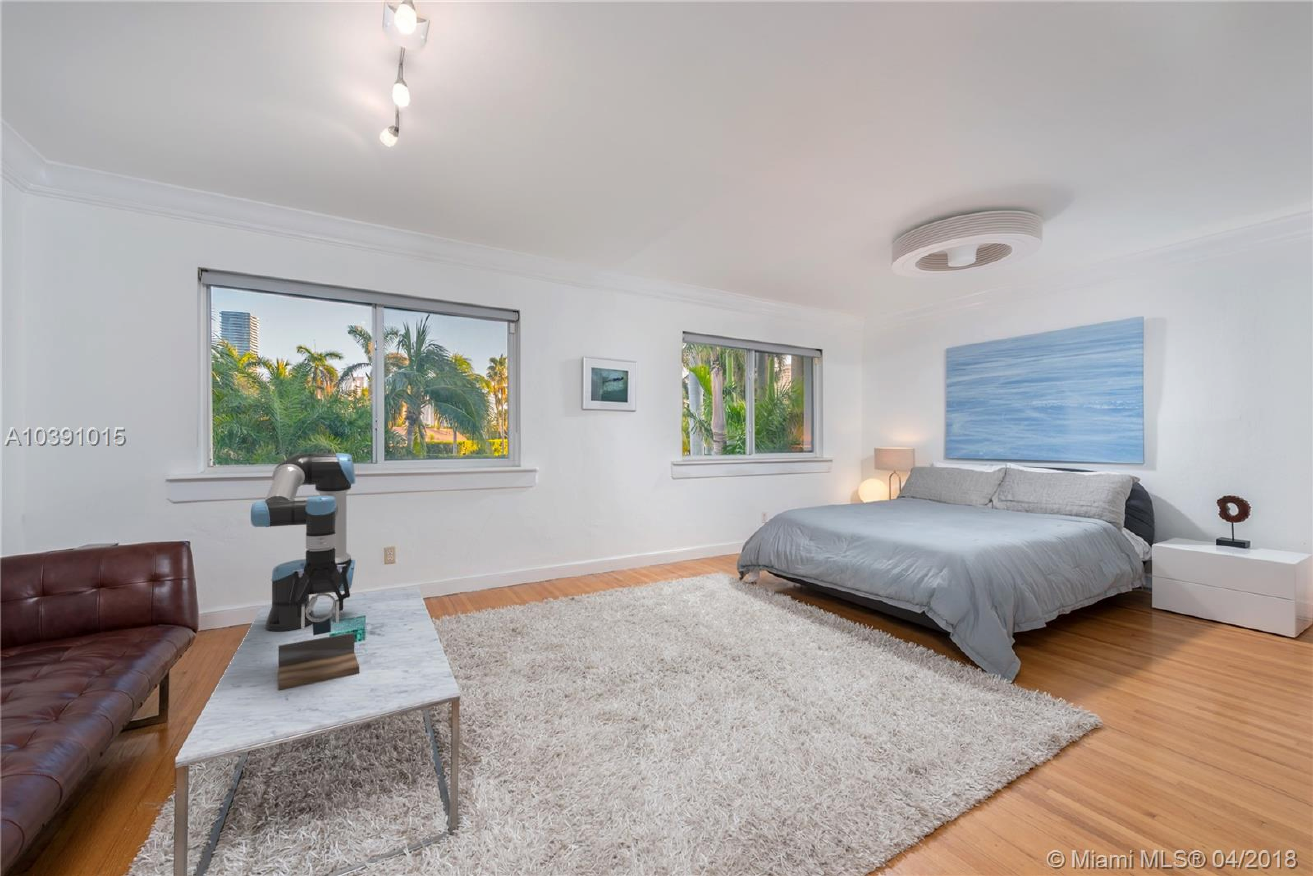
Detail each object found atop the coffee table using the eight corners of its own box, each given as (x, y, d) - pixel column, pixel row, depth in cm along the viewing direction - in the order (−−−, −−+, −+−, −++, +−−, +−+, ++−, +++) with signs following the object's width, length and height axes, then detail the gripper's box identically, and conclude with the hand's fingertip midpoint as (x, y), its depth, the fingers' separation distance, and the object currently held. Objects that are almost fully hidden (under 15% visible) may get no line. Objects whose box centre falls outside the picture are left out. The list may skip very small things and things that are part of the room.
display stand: (278, 672, 165) (278, 645, 165) (353, 657, 176) (353, 632, 176) (278, 690, 154) (278, 661, 153) (359, 673, 165) (359, 646, 165)
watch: (307, 631, 164) (304, 594, 164) (337, 624, 168) (335, 589, 168) (305, 637, 159) (302, 600, 159) (337, 630, 163) (334, 594, 163)
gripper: (278, 555, 154) (277, 635, 154) (361, 547, 166) (361, 621, 166) (278, 550, 160) (277, 627, 160) (358, 542, 172) (358, 614, 172)
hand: (320, 624), depth 163 cm, fingers closed on watch, 8 cm apart
